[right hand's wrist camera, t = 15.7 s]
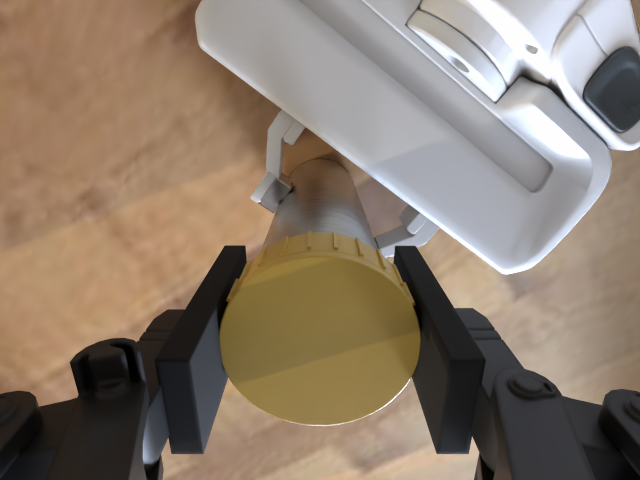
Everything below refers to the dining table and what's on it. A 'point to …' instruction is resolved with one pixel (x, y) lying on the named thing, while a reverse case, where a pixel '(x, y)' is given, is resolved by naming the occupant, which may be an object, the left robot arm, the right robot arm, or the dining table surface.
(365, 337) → the lid
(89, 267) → the dining table surface
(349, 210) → the jar
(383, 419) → the dining table surface
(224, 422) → the dining table surface
